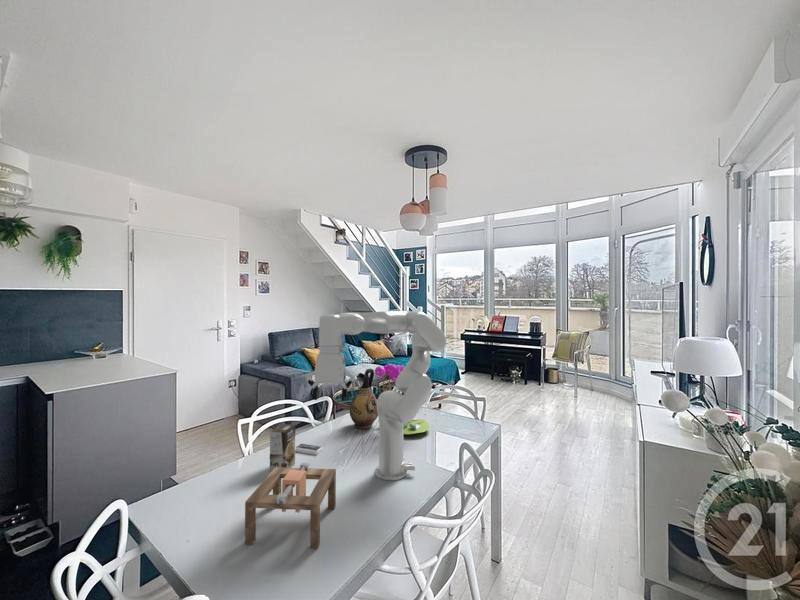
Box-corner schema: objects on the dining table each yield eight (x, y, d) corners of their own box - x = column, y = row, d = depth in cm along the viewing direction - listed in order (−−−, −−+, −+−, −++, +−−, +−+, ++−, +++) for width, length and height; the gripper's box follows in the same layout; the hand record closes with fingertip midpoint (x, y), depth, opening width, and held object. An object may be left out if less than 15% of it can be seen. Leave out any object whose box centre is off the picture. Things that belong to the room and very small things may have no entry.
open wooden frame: (335, 506, 115) (335, 469, 115) (317, 549, 95) (317, 504, 95) (275, 503, 116) (275, 467, 116) (245, 546, 96) (245, 502, 96)
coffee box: (284, 474, 135) (284, 432, 135) (269, 472, 136) (269, 431, 136) (296, 463, 144) (296, 424, 144) (281, 462, 145) (281, 423, 145)
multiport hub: (317, 456, 152) (317, 450, 152) (295, 452, 156) (295, 447, 156) (322, 451, 156) (322, 446, 156) (301, 448, 160) (301, 443, 160)
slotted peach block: (305, 500, 108) (306, 470, 108) (298, 512, 102) (299, 480, 102) (289, 499, 108) (290, 469, 108) (281, 511, 102) (282, 479, 102)
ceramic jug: (367, 433, 177) (367, 373, 177) (343, 427, 186) (343, 370, 186) (386, 423, 192) (386, 367, 192) (363, 418, 200) (363, 365, 200)
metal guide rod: (309, 468, 115) (309, 462, 115) (285, 503, 95) (285, 496, 95) (301, 468, 115) (301, 462, 115) (276, 503, 95) (276, 496, 95)
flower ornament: (362, 433, 180) (358, 365, 180) (392, 415, 205) (389, 354, 204) (414, 443, 165) (410, 369, 164) (439, 422, 189) (436, 357, 188)
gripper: (357, 348, 126) (356, 396, 126) (309, 348, 127) (309, 395, 127) (353, 352, 119) (352, 403, 119) (302, 351, 120) (302, 402, 120)
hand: (330, 399), depth 123 cm, fingers open, 9 cm apart
